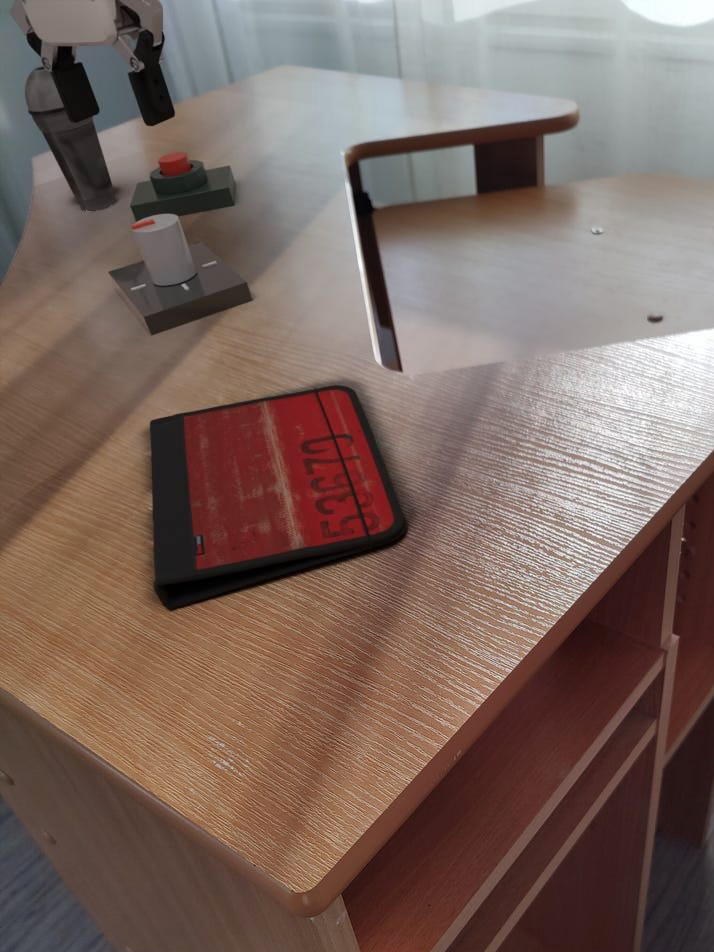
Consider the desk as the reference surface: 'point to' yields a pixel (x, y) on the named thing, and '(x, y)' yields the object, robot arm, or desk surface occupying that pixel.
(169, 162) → the button
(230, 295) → the panel
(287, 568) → the binder
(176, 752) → the desk surface
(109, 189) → the beverage cup
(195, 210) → the button box
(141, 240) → the hob knob
